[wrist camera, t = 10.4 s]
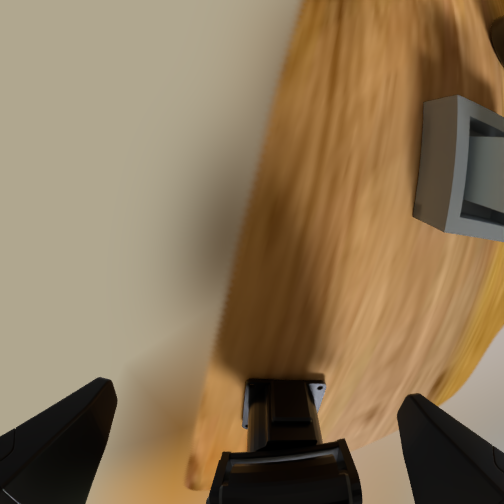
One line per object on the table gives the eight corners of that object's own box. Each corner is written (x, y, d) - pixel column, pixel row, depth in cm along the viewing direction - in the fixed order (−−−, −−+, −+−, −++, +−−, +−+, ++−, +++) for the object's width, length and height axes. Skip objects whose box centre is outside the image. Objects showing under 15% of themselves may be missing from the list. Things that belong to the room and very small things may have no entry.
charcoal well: (487, 229, 18) (519, 244, 14) (412, 216, 18) (444, 232, 14) (498, 133, 15) (532, 134, 11) (423, 102, 15) (457, 94, 11)
